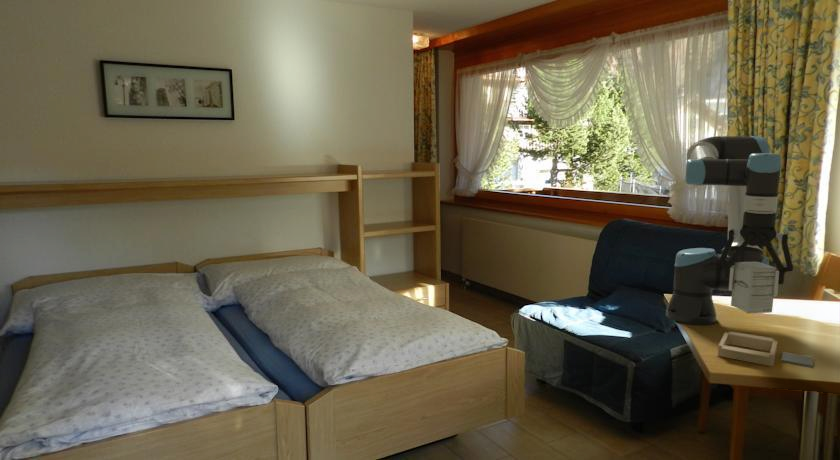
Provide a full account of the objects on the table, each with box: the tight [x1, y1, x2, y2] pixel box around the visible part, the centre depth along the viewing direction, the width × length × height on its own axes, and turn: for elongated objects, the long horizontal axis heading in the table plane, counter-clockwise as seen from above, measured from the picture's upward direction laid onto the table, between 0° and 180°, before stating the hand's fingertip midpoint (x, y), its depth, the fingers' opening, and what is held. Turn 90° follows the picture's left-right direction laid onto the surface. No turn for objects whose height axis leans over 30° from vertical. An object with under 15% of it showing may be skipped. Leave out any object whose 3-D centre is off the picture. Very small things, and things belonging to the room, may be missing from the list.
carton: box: [717, 331, 778, 367], centre depth 157 cm, size 13×17×3 cm
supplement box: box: [730, 262, 777, 314], centre depth 154 cm, size 7×7×13 cm
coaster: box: [780, 351, 814, 368], centre depth 152 cm, size 7×7×1 cm
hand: (752, 292), depth 154 cm, fingers closed on supplement box, 10 cm apart
